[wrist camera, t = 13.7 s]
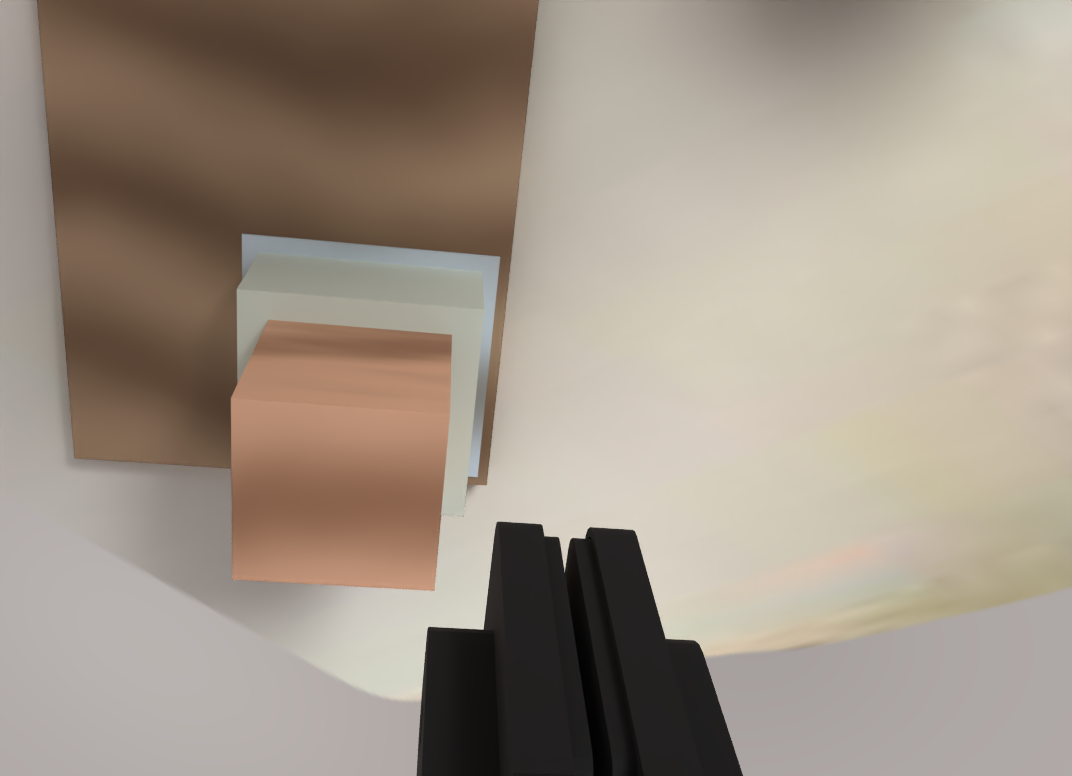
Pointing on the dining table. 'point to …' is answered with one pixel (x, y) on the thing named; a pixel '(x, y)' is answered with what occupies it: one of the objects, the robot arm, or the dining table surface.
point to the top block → (340, 456)
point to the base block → (377, 323)
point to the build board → (264, 183)
